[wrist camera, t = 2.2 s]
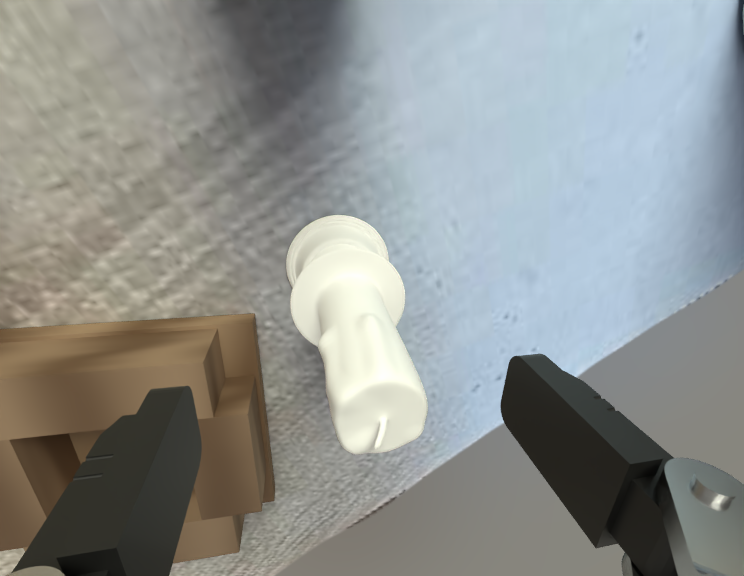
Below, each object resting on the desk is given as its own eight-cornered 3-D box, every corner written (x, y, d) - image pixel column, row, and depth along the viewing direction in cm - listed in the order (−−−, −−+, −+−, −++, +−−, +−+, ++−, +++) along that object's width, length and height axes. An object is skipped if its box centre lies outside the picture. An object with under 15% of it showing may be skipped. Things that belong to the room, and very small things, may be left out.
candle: (342, 328, 21) (389, 543, 10) (264, 271, 19) (214, 464, 8) (407, 259, 20) (539, 414, 9) (334, 191, 18) (388, 285, 7)
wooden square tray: (254, 313, 19) (244, 355, 16) (275, 487, 24) (270, 549, 21) (-34, 331, 17) (-123, 384, 14) (54, 518, 22) (6, 594, 19)
